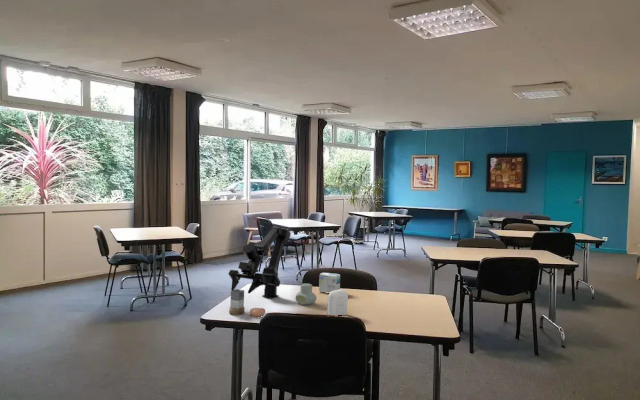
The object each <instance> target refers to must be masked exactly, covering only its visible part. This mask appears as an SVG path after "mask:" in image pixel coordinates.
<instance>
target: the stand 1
mask: <svg viewBox="0 0 640 400" xmlns="http://www.w3.org/2000/svg"><path fill="white" fill-rule="evenodd" d="M245 309H246V308H245V306H244V307H243V308H241V309H239V310H238V309H232V308H230V307H229V313H228V314H229V315H232V316H241V315H244V314H245V311H246V310H245Z"/></svg>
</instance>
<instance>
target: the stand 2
mask: <svg viewBox="0 0 640 400" xmlns="http://www.w3.org/2000/svg"><path fill="white" fill-rule="evenodd" d="M264 314H265V315H266V309H265V308H263V307H253V308H250V309H249V316H250V317H251V318H255V317H256V319H257V318H258V317H260V318H262V317H261V316H263V315H264ZM258 319H259V318H258Z"/></svg>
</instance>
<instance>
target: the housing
mask: <svg viewBox="0 0 640 400" xmlns="http://www.w3.org/2000/svg"><path fill="white" fill-rule="evenodd" d="M243 307H245V290H244V289H238V288H235V289H234V290H233V291H232V290H231V291H230V305H229V309H230V308H232V309H238V310H239V309H241V308H243Z"/></svg>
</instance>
